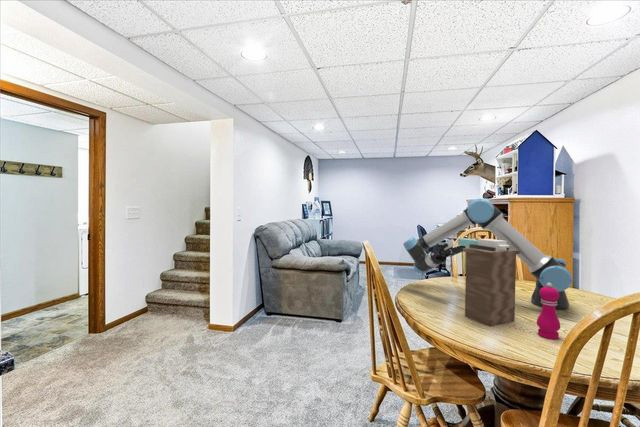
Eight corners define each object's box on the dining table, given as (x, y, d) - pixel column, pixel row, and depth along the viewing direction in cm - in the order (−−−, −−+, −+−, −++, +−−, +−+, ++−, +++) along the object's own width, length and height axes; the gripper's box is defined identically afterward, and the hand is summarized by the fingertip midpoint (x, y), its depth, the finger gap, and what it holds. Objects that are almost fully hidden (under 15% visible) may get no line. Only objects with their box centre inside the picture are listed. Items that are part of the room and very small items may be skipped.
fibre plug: (465, 244, 151) (465, 236, 151) (510, 251, 130) (511, 241, 130) (456, 245, 149) (456, 236, 149) (500, 251, 127) (500, 241, 127)
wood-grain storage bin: (489, 311, 146) (490, 243, 145) (518, 321, 133) (520, 246, 132) (461, 316, 139) (462, 244, 138) (489, 327, 126) (491, 248, 125)
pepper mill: (534, 336, 118) (536, 282, 118) (538, 330, 124) (539, 279, 123) (558, 341, 113) (560, 286, 113) (561, 335, 119) (562, 282, 118)
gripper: (456, 263, 168) (487, 247, 151) (418, 266, 158) (446, 250, 141) (451, 249, 171) (480, 233, 154) (414, 252, 162) (440, 234, 144)
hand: (464, 241), depth 147 cm, fingers open, 13 cm apart
